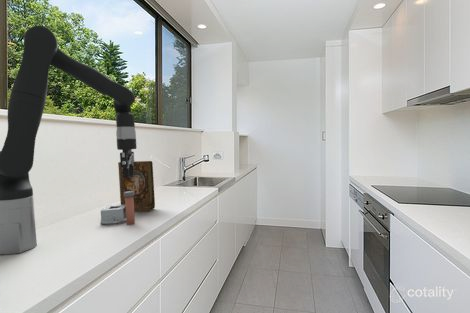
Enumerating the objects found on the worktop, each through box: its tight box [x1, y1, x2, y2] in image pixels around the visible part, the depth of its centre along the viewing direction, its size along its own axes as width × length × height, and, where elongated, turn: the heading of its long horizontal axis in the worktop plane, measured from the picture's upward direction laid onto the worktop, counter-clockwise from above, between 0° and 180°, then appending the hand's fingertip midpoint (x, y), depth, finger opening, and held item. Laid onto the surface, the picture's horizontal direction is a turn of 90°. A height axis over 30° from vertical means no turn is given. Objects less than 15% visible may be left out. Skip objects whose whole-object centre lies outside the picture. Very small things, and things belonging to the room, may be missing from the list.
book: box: [117, 160, 156, 213], centre depth 131 cm, size 16×6×25 cm, turn 84°
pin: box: [124, 191, 136, 226], centre depth 109 cm, size 4×4×14 cm
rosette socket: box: [100, 204, 127, 226], centre depth 115 cm, size 12×12×6 cm
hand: (128, 176), depth 109 cm, fingers open, 8 cm apart
